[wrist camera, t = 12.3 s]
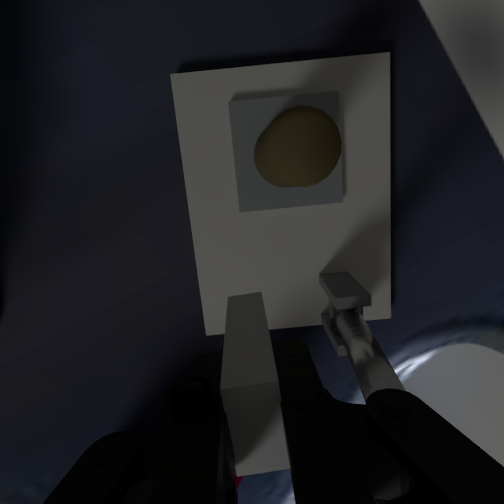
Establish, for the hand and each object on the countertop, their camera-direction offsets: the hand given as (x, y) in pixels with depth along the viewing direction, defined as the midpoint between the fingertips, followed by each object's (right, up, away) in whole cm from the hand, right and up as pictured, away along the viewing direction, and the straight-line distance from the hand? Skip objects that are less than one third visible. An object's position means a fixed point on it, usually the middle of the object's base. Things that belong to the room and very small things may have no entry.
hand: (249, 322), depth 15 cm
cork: (+3, +12, +17) cm, 21 cm away
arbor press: (+4, +7, +20) cm, 22 cm away
